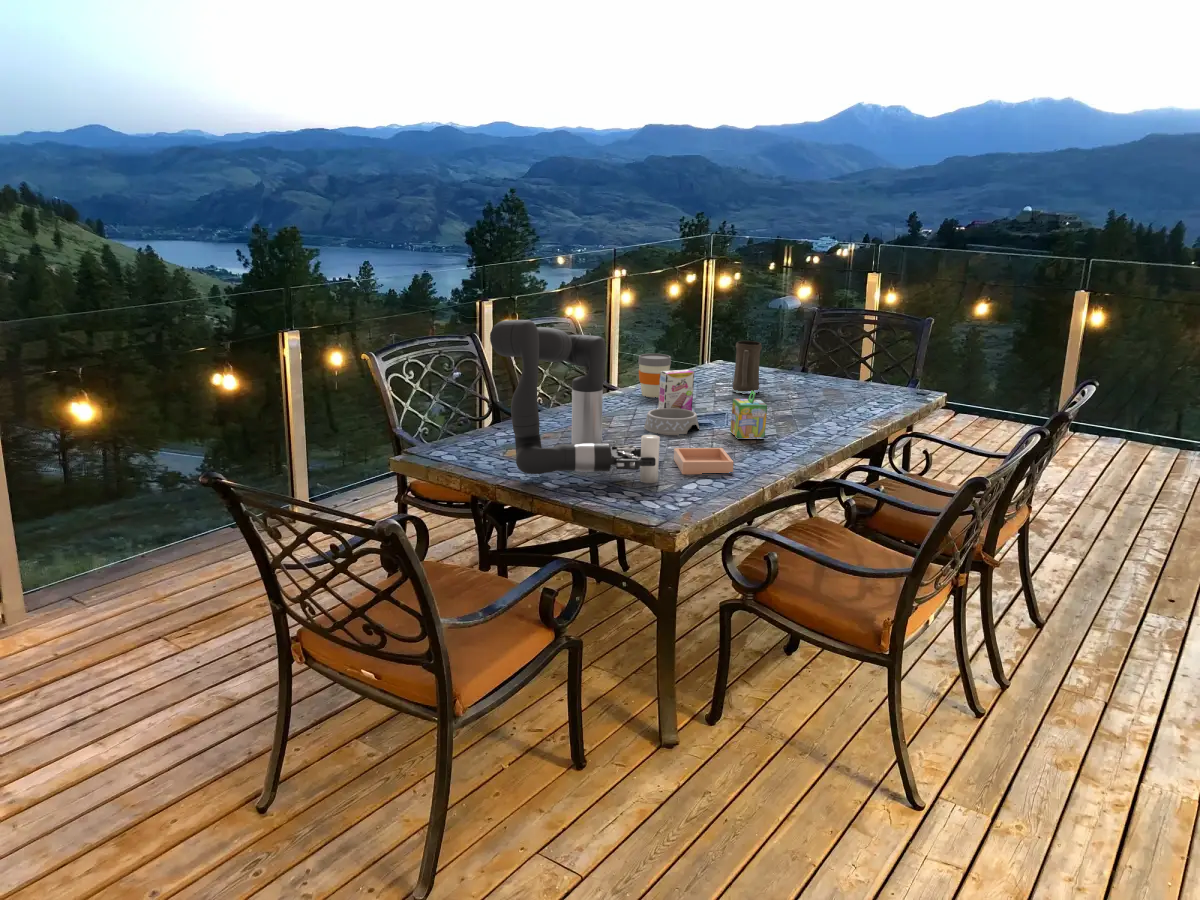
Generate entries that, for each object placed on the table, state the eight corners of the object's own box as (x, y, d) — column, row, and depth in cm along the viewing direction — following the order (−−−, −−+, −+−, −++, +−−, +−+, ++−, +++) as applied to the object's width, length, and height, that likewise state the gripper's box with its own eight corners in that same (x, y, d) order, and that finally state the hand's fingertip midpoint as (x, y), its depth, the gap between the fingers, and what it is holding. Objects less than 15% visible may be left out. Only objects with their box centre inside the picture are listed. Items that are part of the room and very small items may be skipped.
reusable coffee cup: (637, 398, 332) (639, 358, 328) (636, 391, 344) (637, 353, 340) (671, 398, 332) (672, 359, 328) (668, 391, 344) (670, 353, 340)
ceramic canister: (638, 477, 237) (640, 434, 234) (656, 477, 238) (658, 434, 235) (641, 483, 233) (642, 439, 229) (659, 483, 233) (660, 439, 230)
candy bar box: (664, 421, 299) (666, 373, 294) (657, 417, 303) (659, 370, 298) (692, 418, 303) (695, 371, 299) (685, 415, 308) (687, 368, 303)
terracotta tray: (673, 459, 254) (674, 448, 253) (721, 459, 256) (722, 447, 255) (682, 474, 241) (683, 462, 240) (732, 473, 242) (733, 461, 241)
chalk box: (729, 433, 285) (732, 388, 281) (757, 433, 286) (760, 388, 282) (736, 440, 276) (739, 394, 272) (765, 440, 277) (768, 394, 273)
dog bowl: (633, 429, 289) (634, 413, 287) (666, 419, 302) (667, 404, 301) (676, 438, 278) (677, 422, 277) (708, 428, 292) (709, 412, 290)
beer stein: (731, 388, 353) (734, 339, 346) (758, 389, 352) (761, 339, 345) (732, 398, 339) (736, 348, 332) (760, 400, 338) (764, 348, 331)
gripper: (594, 451, 224) (657, 450, 226) (590, 436, 238) (649, 436, 239) (594, 479, 226) (656, 478, 228) (589, 463, 240) (648, 462, 241)
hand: (652, 456), depth 234 cm, fingers open, 8 cm apart
